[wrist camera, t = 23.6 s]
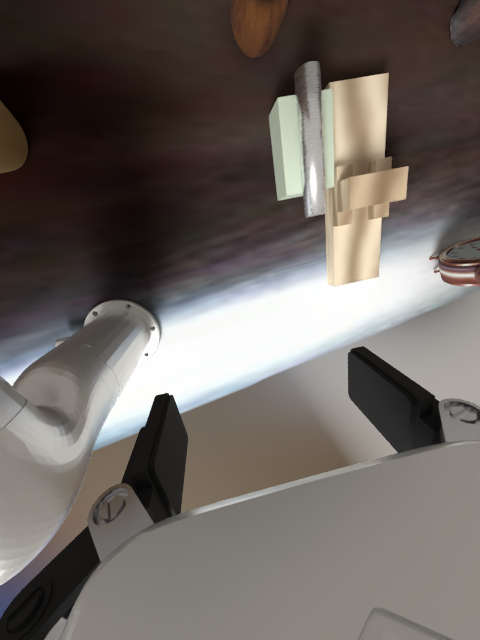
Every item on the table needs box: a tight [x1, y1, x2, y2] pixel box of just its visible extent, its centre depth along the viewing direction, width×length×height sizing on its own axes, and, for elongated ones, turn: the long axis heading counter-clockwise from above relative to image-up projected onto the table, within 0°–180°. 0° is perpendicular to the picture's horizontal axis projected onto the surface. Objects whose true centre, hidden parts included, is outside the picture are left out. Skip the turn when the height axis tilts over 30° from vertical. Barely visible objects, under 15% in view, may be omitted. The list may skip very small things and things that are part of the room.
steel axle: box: [294, 61, 327, 218], centre depth 29 cm, size 16×3×3 cm, turn 10°
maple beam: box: [324, 73, 408, 286], centre depth 34 cm, size 8×28×7 cm, turn 10°
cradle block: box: [269, 89, 334, 201], centre depth 32 cm, size 7×11×4 cm, turn 10°
